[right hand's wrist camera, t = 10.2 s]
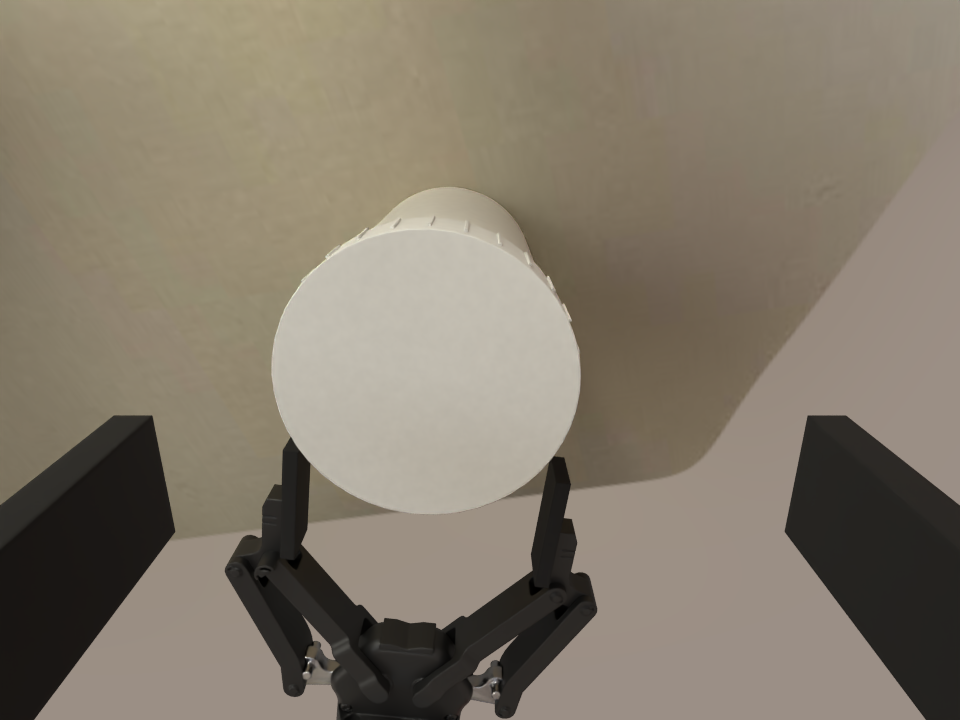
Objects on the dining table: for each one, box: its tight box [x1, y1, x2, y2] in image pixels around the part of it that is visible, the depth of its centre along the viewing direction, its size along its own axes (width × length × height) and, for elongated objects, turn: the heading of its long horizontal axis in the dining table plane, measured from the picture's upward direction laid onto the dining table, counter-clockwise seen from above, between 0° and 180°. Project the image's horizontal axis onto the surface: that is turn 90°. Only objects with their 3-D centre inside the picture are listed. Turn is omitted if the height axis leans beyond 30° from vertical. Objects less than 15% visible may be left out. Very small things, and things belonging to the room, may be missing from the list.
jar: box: [375, 187, 534, 262], centre depth 28 cm, size 9×9×16 cm
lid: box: [272, 215, 581, 515], centre depth 21 cm, size 10×10×2 cm
